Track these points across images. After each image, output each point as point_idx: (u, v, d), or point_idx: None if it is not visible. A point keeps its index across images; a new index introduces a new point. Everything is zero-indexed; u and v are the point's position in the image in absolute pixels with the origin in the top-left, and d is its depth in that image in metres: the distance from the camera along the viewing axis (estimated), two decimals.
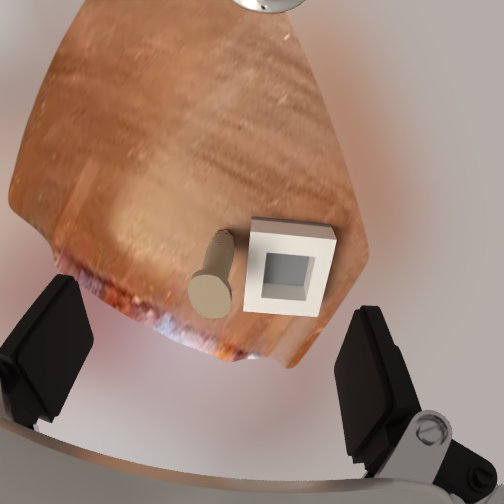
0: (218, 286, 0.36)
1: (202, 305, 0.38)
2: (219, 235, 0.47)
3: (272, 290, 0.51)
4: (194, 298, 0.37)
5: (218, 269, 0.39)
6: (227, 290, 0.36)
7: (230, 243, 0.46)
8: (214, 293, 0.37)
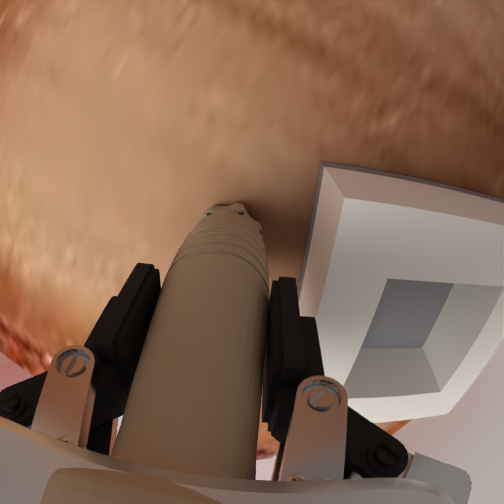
0: None
1: None
2: (216, 217, 0.13)
3: (361, 370, 0.18)
4: None
5: (210, 405, 0.06)
6: None
7: (257, 245, 0.12)
8: None
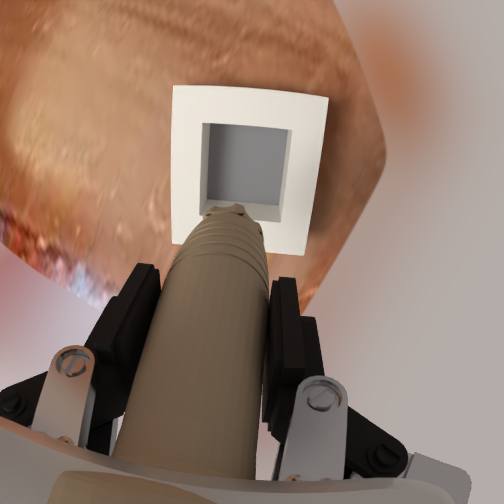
0: None
1: None
2: (216, 218, 0.13)
3: None
4: None
5: (210, 407, 0.06)
6: None
7: (257, 247, 0.12)
8: None
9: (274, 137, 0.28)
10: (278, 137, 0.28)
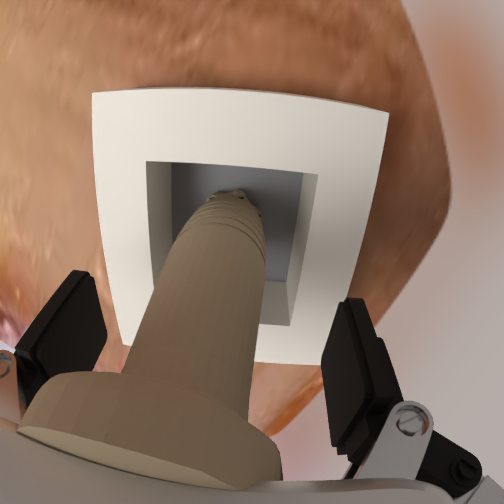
0: None
1: None
2: (218, 199, 0.14)
3: None
4: None
5: (207, 341, 0.07)
6: None
7: (255, 223, 0.14)
8: None
9: (281, 176, 0.17)
10: (288, 175, 0.17)
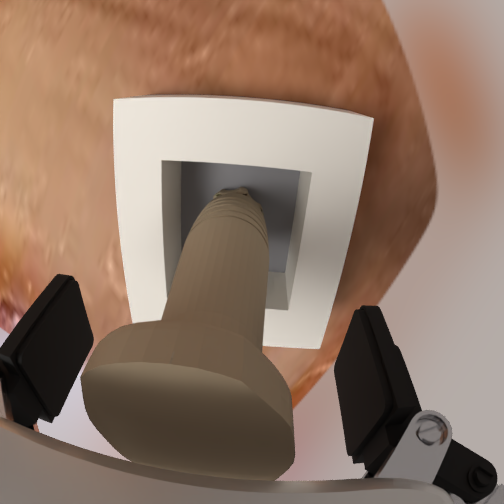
0: (237, 417, 0.06)
1: (164, 462, 0.07)
2: (225, 196, 0.16)
3: None
4: (125, 442, 0.07)
5: (228, 306, 0.09)
6: (286, 430, 0.06)
7: (259, 216, 0.15)
8: (216, 439, 0.06)
9: (280, 175, 0.19)
10: (287, 175, 0.18)
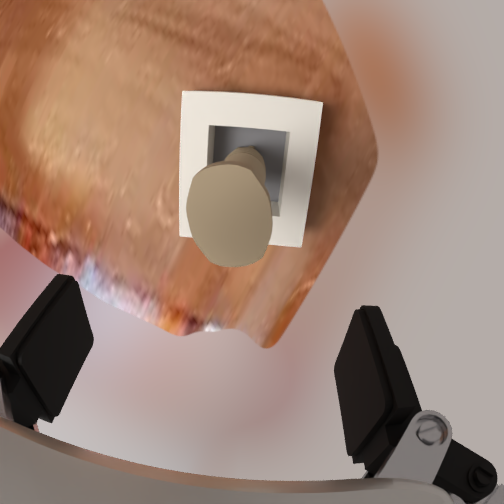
0: (249, 192, 0.18)
1: (213, 237, 0.19)
2: (242, 147, 0.28)
3: None
4: (198, 222, 0.19)
5: None
6: (267, 201, 0.18)
7: (260, 156, 0.27)
8: (240, 209, 0.18)
9: (274, 139, 0.30)
10: (278, 138, 0.30)
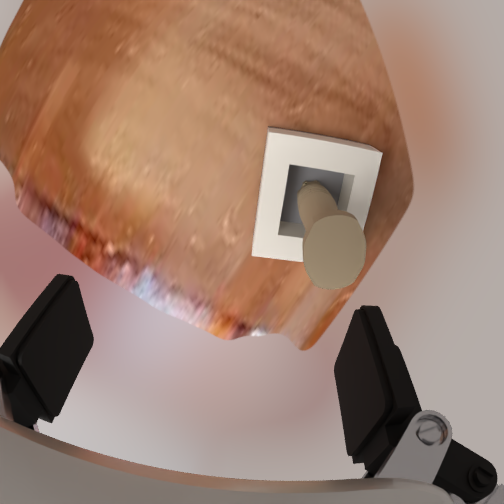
0: (353, 235, 0.23)
1: (321, 267, 0.25)
2: (313, 183, 0.34)
3: (292, 229, 0.37)
4: (312, 256, 0.24)
5: None
6: (364, 242, 0.23)
7: None
8: (344, 247, 0.24)
9: (334, 175, 0.36)
10: (337, 175, 0.36)
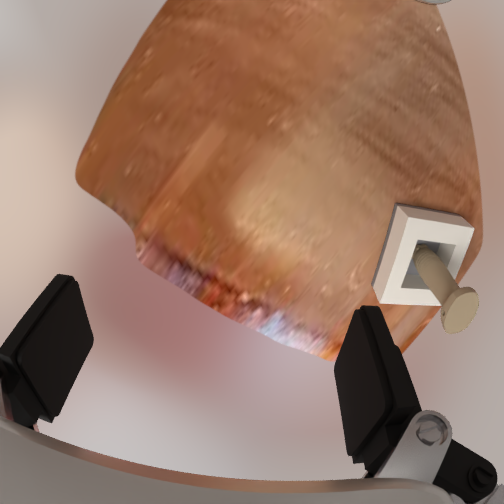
0: (473, 302, 0.31)
1: (452, 322, 0.32)
2: (427, 250, 0.42)
3: (406, 280, 0.45)
4: (450, 316, 0.32)
5: (457, 285, 0.34)
6: (477, 305, 0.31)
7: None
8: (467, 309, 0.32)
9: None
10: None
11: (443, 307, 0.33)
